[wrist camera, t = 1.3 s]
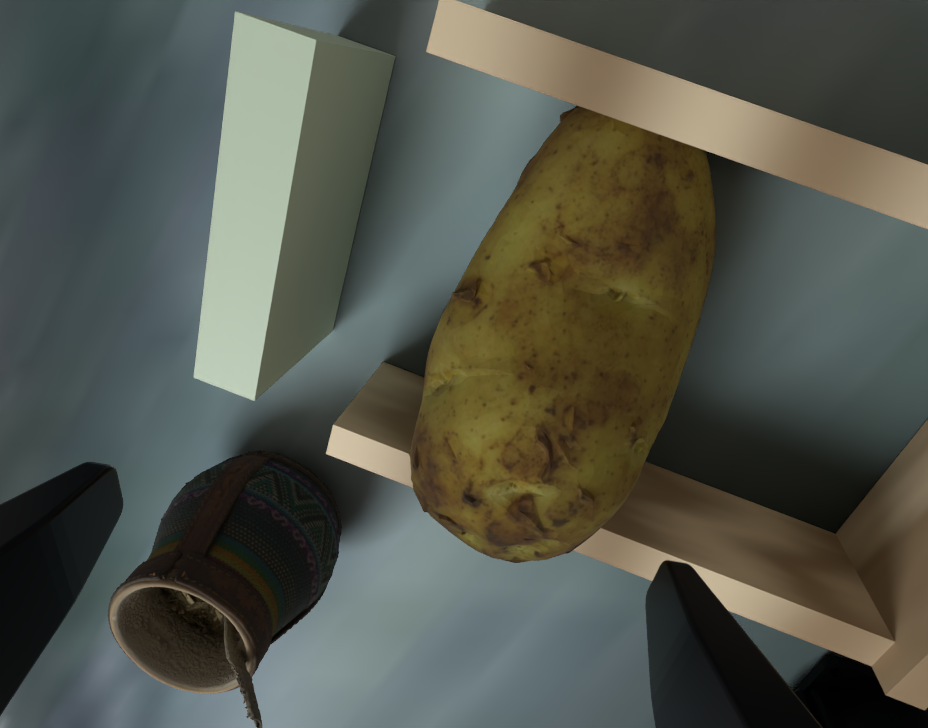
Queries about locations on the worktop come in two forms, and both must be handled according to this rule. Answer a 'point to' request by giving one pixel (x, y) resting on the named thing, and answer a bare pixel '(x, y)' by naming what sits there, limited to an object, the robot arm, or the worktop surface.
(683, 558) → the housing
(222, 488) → the mate gourd
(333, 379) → the worktop surface
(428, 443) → the potato
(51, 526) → the robot arm
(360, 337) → the worktop surface
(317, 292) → the pale green block
